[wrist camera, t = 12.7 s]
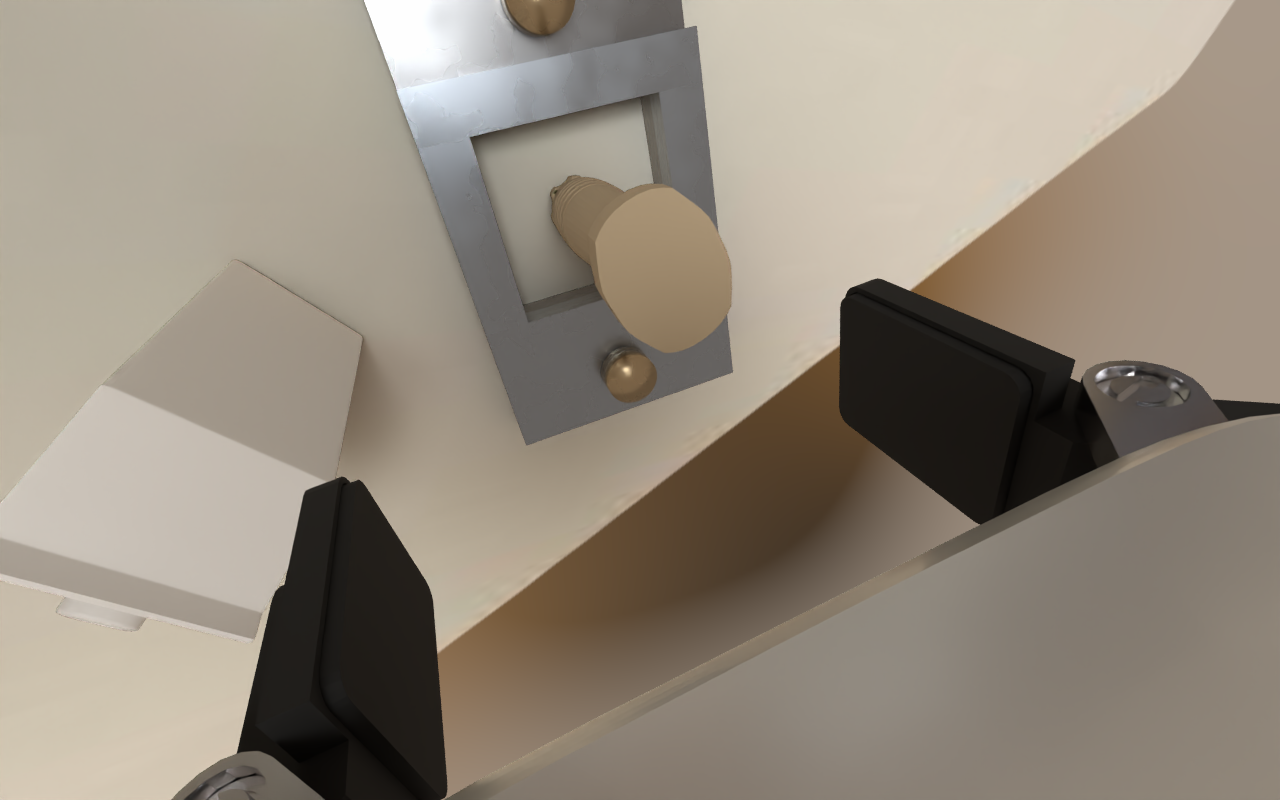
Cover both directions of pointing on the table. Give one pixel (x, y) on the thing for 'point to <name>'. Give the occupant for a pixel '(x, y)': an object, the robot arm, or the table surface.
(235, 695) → the table surface
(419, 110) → the upper end link
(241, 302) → the milk carton
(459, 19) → the lower end link
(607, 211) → the handle
